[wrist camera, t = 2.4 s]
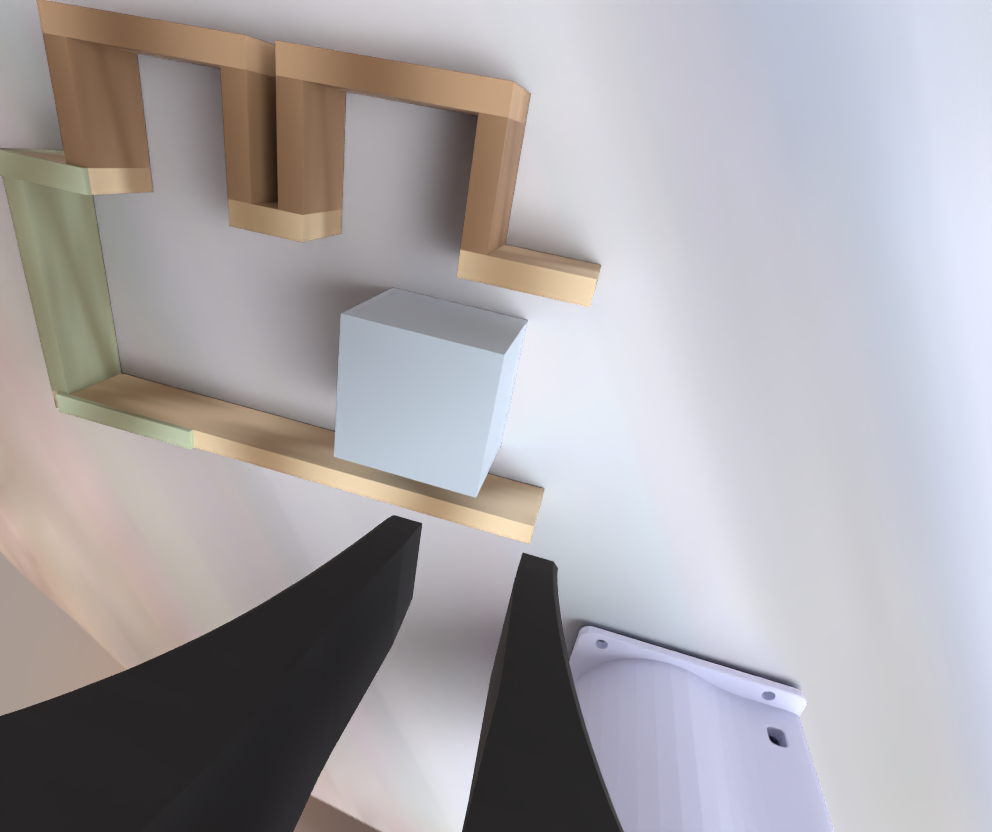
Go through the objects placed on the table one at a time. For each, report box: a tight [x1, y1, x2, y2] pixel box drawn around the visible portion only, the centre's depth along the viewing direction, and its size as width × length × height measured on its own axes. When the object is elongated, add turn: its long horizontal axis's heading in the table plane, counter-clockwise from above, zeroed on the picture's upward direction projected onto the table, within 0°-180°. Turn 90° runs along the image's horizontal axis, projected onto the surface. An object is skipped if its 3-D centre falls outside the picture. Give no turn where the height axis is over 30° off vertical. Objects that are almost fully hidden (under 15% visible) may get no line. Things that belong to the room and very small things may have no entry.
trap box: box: [0, 0, 601, 544], centre depth 18 cm, size 20×14×3 cm
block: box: [334, 288, 528, 498], centre depth 18 cm, size 5×5×4 cm
